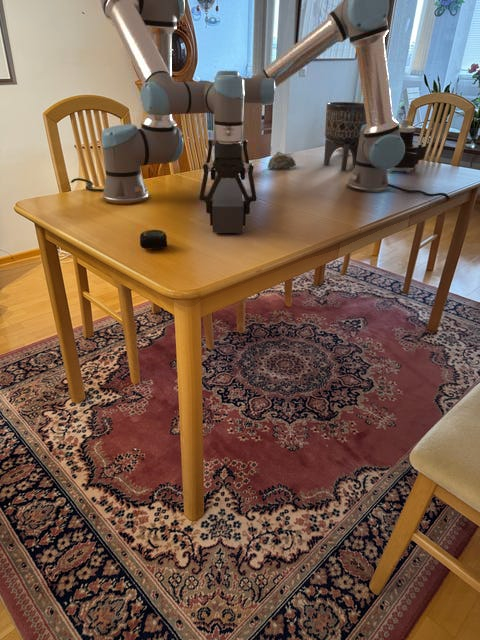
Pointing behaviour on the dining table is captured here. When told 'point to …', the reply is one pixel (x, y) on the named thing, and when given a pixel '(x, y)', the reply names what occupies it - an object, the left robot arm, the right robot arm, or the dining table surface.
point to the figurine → (341, 151)
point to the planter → (343, 129)
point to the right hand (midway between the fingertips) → (227, 188)
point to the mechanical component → (409, 149)
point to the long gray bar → (227, 207)
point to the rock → (281, 162)
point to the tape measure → (153, 239)
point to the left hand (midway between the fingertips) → (227, 224)
